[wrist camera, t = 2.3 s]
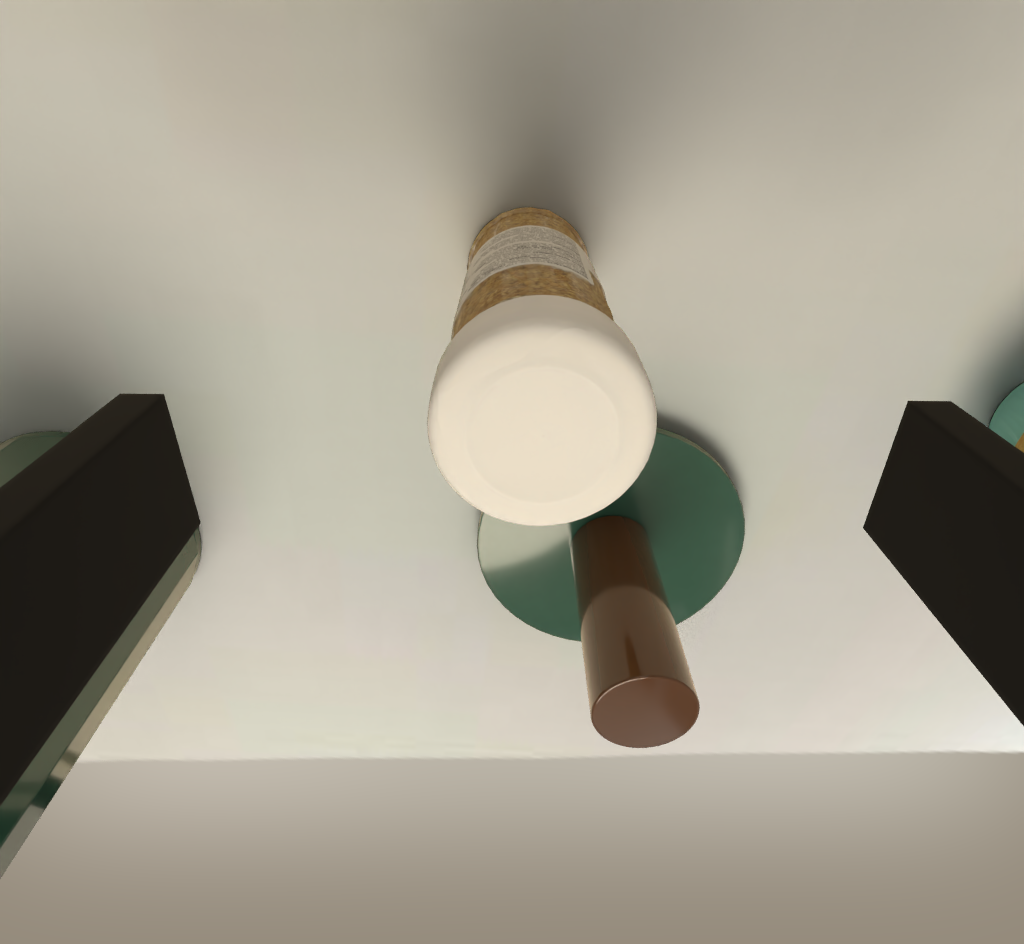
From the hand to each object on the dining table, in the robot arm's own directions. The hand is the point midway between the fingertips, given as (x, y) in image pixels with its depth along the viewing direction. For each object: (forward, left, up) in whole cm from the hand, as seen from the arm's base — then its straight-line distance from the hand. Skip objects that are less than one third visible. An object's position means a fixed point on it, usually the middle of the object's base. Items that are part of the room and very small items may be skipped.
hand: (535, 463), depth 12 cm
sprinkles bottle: (0, 0, -14) cm, 14 cm away
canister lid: (-4, +12, -14) cm, 18 cm away
